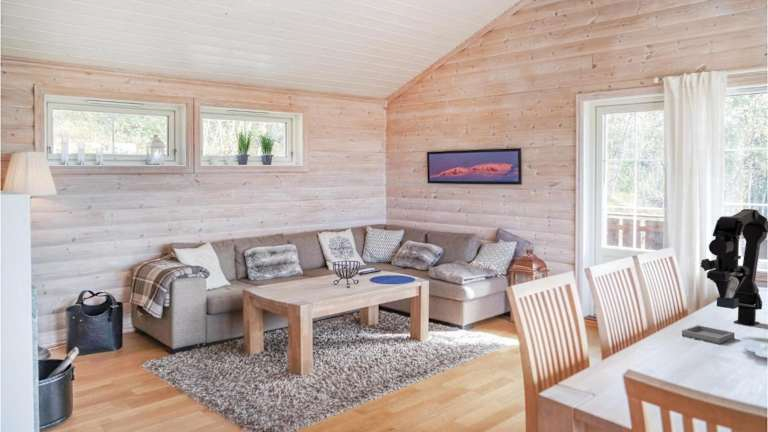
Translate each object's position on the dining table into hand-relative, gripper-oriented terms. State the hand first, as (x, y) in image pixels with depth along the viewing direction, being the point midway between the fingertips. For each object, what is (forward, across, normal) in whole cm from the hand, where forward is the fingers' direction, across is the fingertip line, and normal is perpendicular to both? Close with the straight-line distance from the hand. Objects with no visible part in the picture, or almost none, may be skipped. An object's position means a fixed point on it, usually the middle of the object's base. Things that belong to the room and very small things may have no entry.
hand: (727, 296), depth 211 cm
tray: (+13, +10, -2) cm, 16 cm away
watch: (+4, 0, 0) cm, 4 cm away
